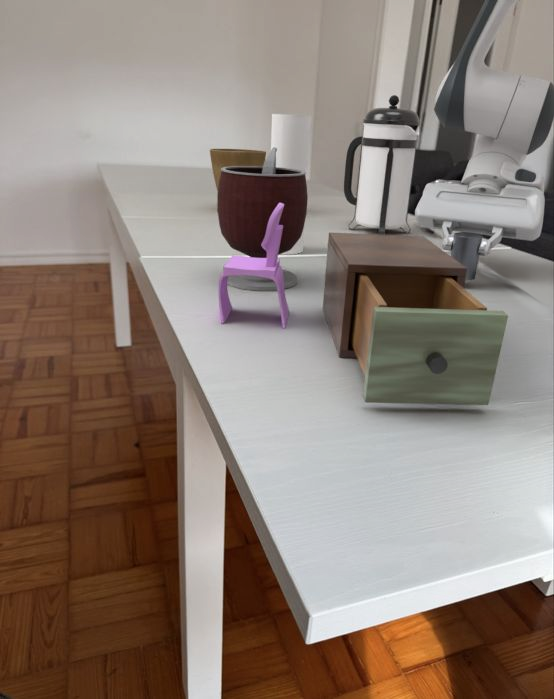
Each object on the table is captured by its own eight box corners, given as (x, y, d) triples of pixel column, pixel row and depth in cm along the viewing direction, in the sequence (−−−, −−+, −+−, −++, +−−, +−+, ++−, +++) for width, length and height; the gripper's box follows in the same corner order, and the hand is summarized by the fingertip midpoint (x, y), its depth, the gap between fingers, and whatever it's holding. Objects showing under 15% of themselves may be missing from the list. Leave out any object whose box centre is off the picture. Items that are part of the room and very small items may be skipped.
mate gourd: (295, 296, 82) (303, 155, 74) (206, 287, 84) (205, 149, 76) (308, 270, 96) (317, 149, 88) (231, 263, 98) (233, 144, 91)
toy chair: (227, 305, 77) (228, 195, 71) (289, 310, 76) (296, 199, 70) (215, 325, 69) (215, 204, 63) (284, 331, 69) (291, 209, 63)
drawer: (493, 411, 50) (514, 320, 46) (367, 409, 49) (379, 315, 46) (437, 341, 65) (450, 268, 62) (340, 338, 65) (348, 264, 61)
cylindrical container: (276, 244, 114) (282, 114, 104) (308, 249, 111) (317, 115, 102) (260, 251, 108) (265, 113, 98) (293, 256, 105) (301, 115, 96)
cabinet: (450, 360, 63) (467, 268, 58) (339, 357, 62) (348, 264, 58) (412, 311, 78) (423, 235, 74) (322, 309, 77) (328, 232, 73)
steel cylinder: (469, 273, 93) (476, 232, 91) (479, 280, 89) (486, 237, 87) (444, 273, 93) (450, 231, 90) (452, 280, 89) (459, 237, 86)
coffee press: (408, 227, 140) (426, 98, 128) (411, 239, 125) (431, 95, 114) (340, 222, 142) (351, 95, 131) (335, 233, 128) (348, 91, 116)
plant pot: (275, 213, 151) (278, 151, 145) (235, 218, 141) (236, 152, 135) (238, 205, 160) (239, 147, 154) (198, 209, 150) (197, 147, 144)
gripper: (426, 166, 95) (400, 231, 91) (554, 176, 86) (532, 248, 82) (430, 191, 101) (406, 253, 97) (551, 202, 91) (530, 271, 87)
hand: (464, 251), depth 89 cm, fingers closed on steel cylinder, 4 cm apart
